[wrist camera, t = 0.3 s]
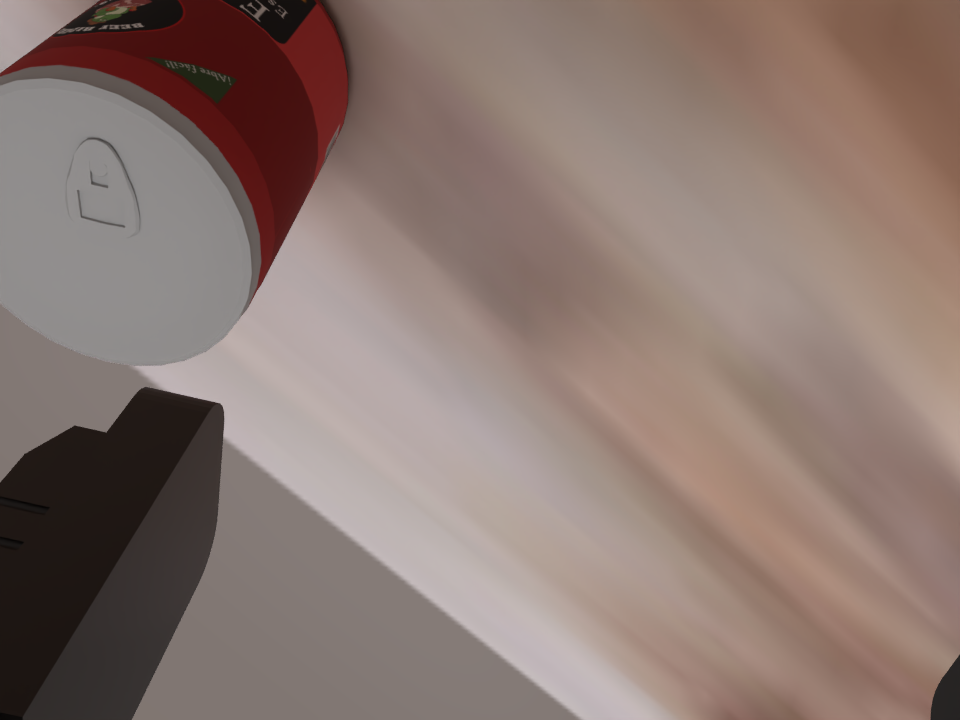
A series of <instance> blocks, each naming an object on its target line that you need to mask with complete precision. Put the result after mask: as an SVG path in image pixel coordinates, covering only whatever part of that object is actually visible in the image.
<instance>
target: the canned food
mask: <svg viewBox="0 0 960 720" xmlns="http://www.w3.org/2000/svg"><path fill="white" fill-rule="evenodd" d="M347 104H348V76H347V69H346V64H345V58H344V53H343V47H342V45H341V42H340V39H339V37H338V34H337V31H336V29H335V26H334V24H333V22H332V21H331V19H330V17H329V15H328V14H327V12H326V10H325V8H324V7H323V5H322V4H321V2H320V1H319V0H100V1H99V2H97V3H96V4H94V5H93V6H92V7H90V8H89V9H88V10H86V11H85V12H83V13H82V14H81V15H79V16H78V17H77V18H75V19H74V20H73V21H71V22H70V23H68V24H67V25H66V26H64V27H63V28H62V29H60V30H59V31H57V32H56V33H55V34H53V35H52V36H51V37H49V38H48V39H46V40H45V41H44V42H42V43H41V44H40V45H38V46H37V47H36V48H34V49H33V50H31V51H30V52H29V53H27V54H26V55H25V56H23V57H22V58H20V59H19V60H18V61H16V62H15V63H14V64H12V65H11V66H9V67H8V68H7V69H5V70H4V71H3V72H1V73H0V304H1V305H2V306H3V307H5V308H6V309H7V310H8V311H10V312H11V313H12V314H13V315H14V316H16V317H17V318H18V319H20V320H21V321H22V322H23V323H24V324H26V325H27V326H29V327H30V328H32V329H34V330H35V331H37V332H38V333H40V334H42V335H43V336H45V337H46V338H48V339H50V340H51V341H53V342H55V343H58V344H60V345H62V346H64V347H66V348H69V349H71V350H73V351H75V352H77V353H80V354H83V355H86V356H90V357H93V358H96V359H100V360H103V361H107V362H112V363H119V364H126V365H133V366H153V365H165V364H170V363H175V362H180V361H185V360H187V359H189V358H192V357H194V356H196V355H199V354H201V353H203V352H206V351H207V350H209V349H210V348H211V347H213V346H214V345H215V344H217V343H218V342H219V341H221V340H222V339H223V338H225V336H226V335H227V334H228V333H229V331H230V330H231V329H232V328H233V326H234V325H235V324H236V323H237V321H238V320H239V318H240V317H241V316H242V315H243V313H244V312H245V311H246V310H247V308H248V307H249V305H250V303H251V301H252V299H253V297H254V295H255V293H256V292H257V290H258V288H259V287H260V286H261V284H262V282H263V280H264V278H265V276H266V274H267V272H268V270H269V269H270V267H271V265H272V263H273V261H274V259H275V257H276V255H277V253H278V251H279V249H280V247H281V245H282V244H283V242H284V240H285V238H286V236H287V234H288V232H289V230H290V228H291V226H292V224H293V222H294V220H295V218H296V217H297V215H298V213H299V211H300V209H301V207H302V205H303V203H304V201H305V199H306V197H307V195H308V193H309V191H310V190H311V188H312V186H313V184H314V182H315V180H316V178H317V176H318V174H319V172H320V170H321V168H322V166H323V165H324V163H325V161H326V159H327V157H328V155H329V153H330V151H331V149H332V147H333V145H334V143H335V141H336V139H337V137H338V135H339V132H340V130H341V128H342V126H343V123H344V118H345V113H346V109H347Z"/></svg>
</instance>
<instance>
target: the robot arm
mask: <svg viewBox="0 0 960 720" xmlns="http://www.w3.org/2000/svg"><path fill="white" fill-rule="evenodd" d="M223 431H224V411H223V407H222V405H221V404H220V403H215V402H211V401H207V400H202V399H198V398H193V397H189V396H184V395H180V394H176V393H171V392H167V391H162V390H158V389H153V388H148V387H144V388H142V389H141V390H139V391H138V392H137V394H136V395H135V396H134V397H133V398H132V399H131V401H130V402H129V403H128V405H127V406H126V408H125V409H124V410H123V411H122V413H121V414H120V415H119V417H118V418H117V419H116V421H115V422H114V423H113V425H112V426H111V427H110V429H109V430H108V431H107V433H105V432H101V431H97V430H92V429H88V428H83V427H78V426H73V427H72V428H70V429H68V430H66V431H65V432H63V433H61V434H59V435H58V436H56V437H54V438H52V439H50V440H49V441H47V442H45V443H43V444H42V445H40V446H38V447H37V448H35V449H33V450H31V451H29V452H28V453H26V454H24V456H23V457H22V458H21V459H20V460H19V461H18V463H17V464H16V465H15V466H14V467H13V468H12V470H11V471H10V472H9V473H8V474H7V476H6V477H5V478H4V479H3V480H2V481H1V482H0V720H132V718H133V716H134V714H135V712H136V710H137V708H138V706H139V704H140V702H141V700H142V697H143V695H144V693H145V691H146V689H147V687H148V685H149V683H150V681H151V679H152V677H153V675H154V673H155V671H156V669H157V667H158V665H159V663H160V661H161V659H162V657H163V655H164V653H165V651H166V649H167V647H168V645H169V642H170V641H171V639H172V636H173V634H174V632H175V630H176V628H177V626H178V624H179V622H180V620H181V618H182V616H183V614H184V611H185V610H186V608H187V606H188V604H189V602H190V600H191V598H192V596H193V594H194V591H195V590H196V588H197V586H198V583H199V581H200V579H201V577H202V574H203V572H204V569H205V567H206V564H207V561H208V558H209V555H210V551H211V548H212V544H213V540H214V536H215V530H216V524H217V516H218V503H219V487H220V474H221V460H222V445H223ZM931 720H960V655H959V656H958V658H957V659H956V660H955V662H954V663H953V665H952V666H951V667H950V669H949V670H948V671H947V673H946V674H945V675H944V677H943V678H942V680H941V681H940V683H939V684H938V687H937V689H936V691H935V694H934V697H933V702H932V707H931Z"/></svg>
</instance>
